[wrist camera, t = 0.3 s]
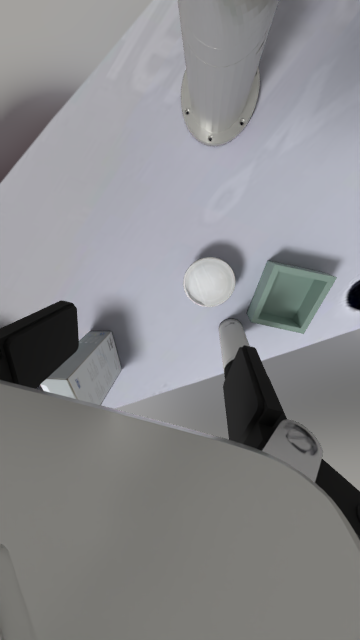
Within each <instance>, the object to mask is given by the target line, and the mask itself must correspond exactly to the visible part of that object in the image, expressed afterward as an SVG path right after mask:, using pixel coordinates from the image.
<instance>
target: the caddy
mask: <svg viewBox="0 0 360 640" xmlns="http://www.w3.org/2000/svg"><path fill="white" fill-rule="evenodd" d="M336 278H337V277H334V276H332V275H329V274H326V273H324V272H320V271H315V270H310V269H305V268H301V267H296V266H291V265H286V264H282V263H277V262H272V261H267V263H266V266H265V268H264V271H263V273H262V276H261V278H260V281H259V283H258V286H257V289H256V291H255V294H254V296H253V299H252V301H251V304H250V306H249V309H248V311H247V315H248V317H249V319H250V321H251V322H253V323H257V324H262V325H266V326H271V327H275V328H280V329H284V330H289V331H293V332H298V333H302V334H304V332H305V331H306V329H307V327H308V326H309V324H310V322H311V320H312V319H313V317H314V315H315V314H316V312H317V310H318V309H319V307H320V305H321V304H322V302H323V300H324V299H325V297H326V295H327V293H328V292H329V290H330V288H331V287H332V285H333V283H334V282H335V280H336Z"/></svg>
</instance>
